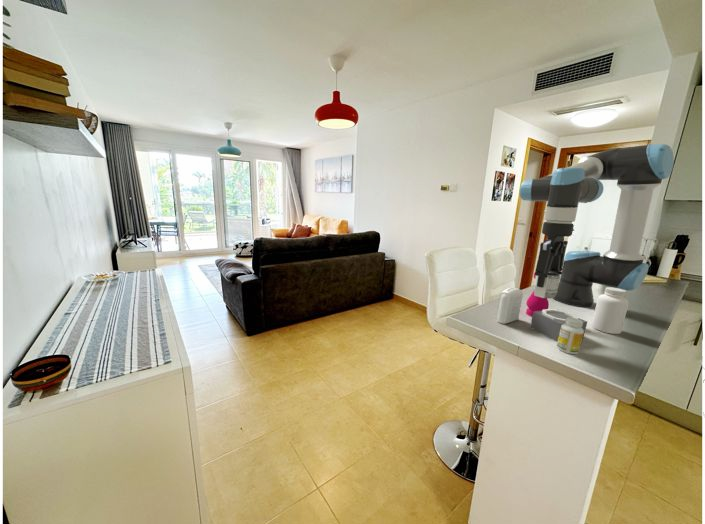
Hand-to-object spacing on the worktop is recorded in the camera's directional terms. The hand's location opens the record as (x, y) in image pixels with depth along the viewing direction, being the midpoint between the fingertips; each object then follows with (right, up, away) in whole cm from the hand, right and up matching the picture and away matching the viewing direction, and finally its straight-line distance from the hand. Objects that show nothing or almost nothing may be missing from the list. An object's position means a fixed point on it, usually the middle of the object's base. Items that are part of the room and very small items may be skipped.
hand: (544, 294), depth 90 cm
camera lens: (0, 0, 0) cm, 0 cm away
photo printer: (-4, -11, +14) cm, 18 cm away
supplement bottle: (+3, -16, -6) cm, 17 cm away
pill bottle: (+28, -14, +10) cm, 33 cm away
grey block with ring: (+7, -14, +5) cm, 16 cm away
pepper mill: (+10, -11, +20) cm, 25 cm away
